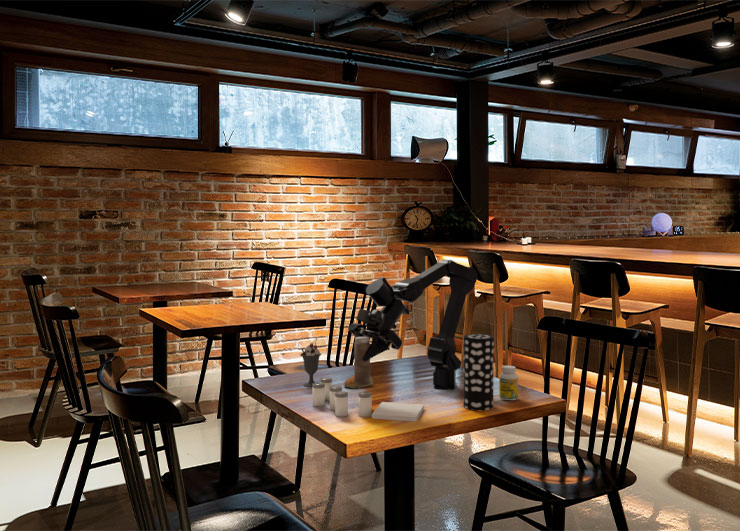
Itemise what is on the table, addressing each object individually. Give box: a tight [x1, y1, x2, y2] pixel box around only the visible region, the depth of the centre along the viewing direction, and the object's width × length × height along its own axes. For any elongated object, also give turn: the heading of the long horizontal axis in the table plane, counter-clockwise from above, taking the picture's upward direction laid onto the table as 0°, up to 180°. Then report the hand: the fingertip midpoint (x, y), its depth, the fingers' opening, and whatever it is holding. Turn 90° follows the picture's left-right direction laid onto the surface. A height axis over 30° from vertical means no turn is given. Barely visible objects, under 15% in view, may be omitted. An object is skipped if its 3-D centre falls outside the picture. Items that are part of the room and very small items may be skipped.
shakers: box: [311, 377, 373, 418], centre depth 182 cm, size 8×24×6 cm, turn 35°
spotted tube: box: [462, 333, 495, 411], centre depth 183 cm, size 8×8×20 cm
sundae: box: [300, 337, 322, 388], centre depth 208 cm, size 7×7×15 cm
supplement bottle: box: [498, 365, 519, 401], centre depth 191 cm, size 5×5×10 cm
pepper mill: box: [353, 337, 371, 385], centre depth 184 cm, size 4×4×13 cm
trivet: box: [371, 401, 425, 422], centre depth 177 cm, size 12×12×1 cm
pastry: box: [344, 374, 374, 389], centre depth 207 cm, size 9×7×4 cm
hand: (358, 359), depth 183 cm, fingers closed on pepper mill, 4 cm apart
